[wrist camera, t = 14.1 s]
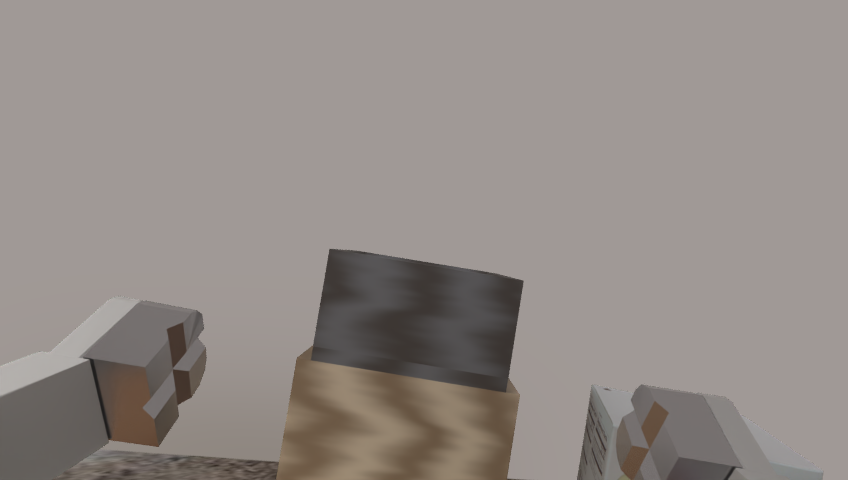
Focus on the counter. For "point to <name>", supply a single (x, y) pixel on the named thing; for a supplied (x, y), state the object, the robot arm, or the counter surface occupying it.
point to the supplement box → (609, 406)
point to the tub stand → (405, 374)
